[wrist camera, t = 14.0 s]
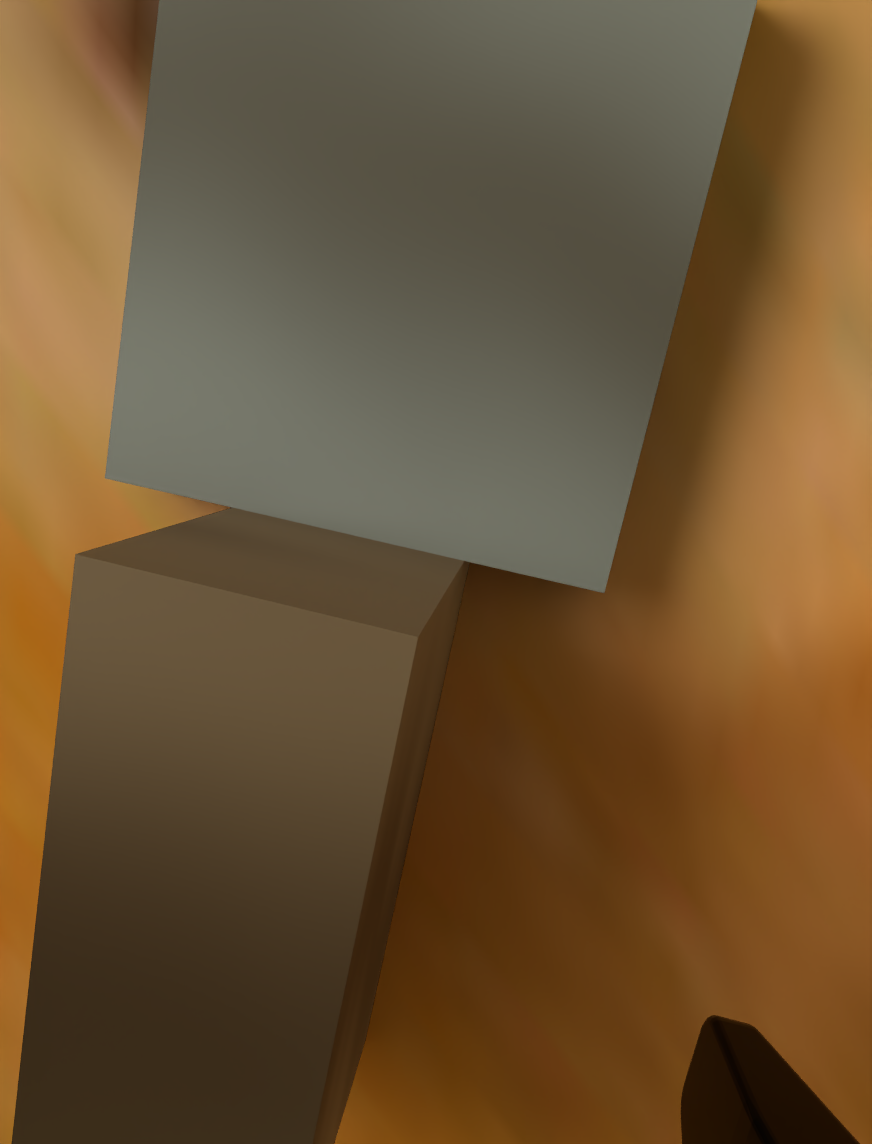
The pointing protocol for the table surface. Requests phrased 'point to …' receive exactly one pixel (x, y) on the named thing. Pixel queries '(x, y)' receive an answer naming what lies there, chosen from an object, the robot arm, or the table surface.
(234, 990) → the turner
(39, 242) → the table surface
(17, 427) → the table surface
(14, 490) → the table surface
